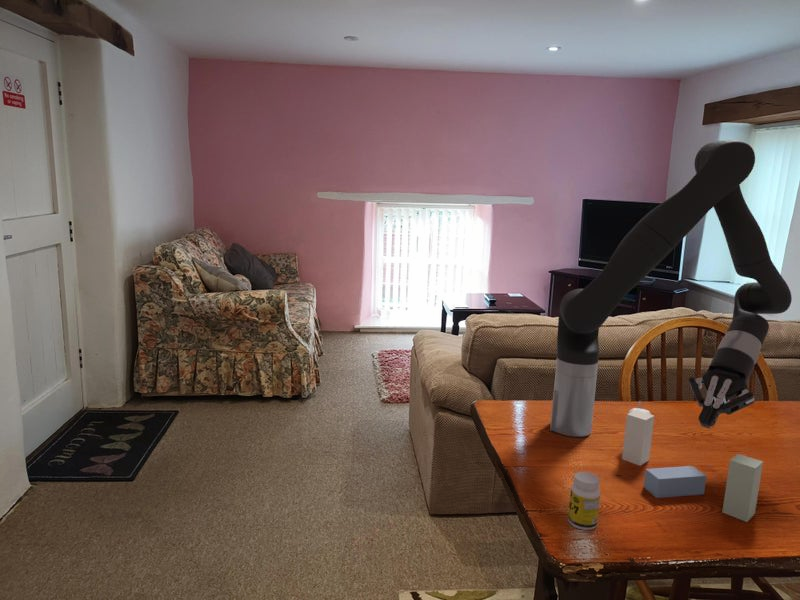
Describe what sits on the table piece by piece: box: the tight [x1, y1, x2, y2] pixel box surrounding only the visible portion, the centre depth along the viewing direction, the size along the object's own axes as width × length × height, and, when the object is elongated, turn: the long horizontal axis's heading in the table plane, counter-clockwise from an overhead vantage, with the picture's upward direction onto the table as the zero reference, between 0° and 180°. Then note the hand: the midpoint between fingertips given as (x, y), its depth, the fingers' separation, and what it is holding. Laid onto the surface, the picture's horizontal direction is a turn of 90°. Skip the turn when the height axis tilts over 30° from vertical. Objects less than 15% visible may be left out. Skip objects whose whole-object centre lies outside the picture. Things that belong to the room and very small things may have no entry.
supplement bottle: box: [567, 471, 601, 531], centre depth 99 cm, size 5×5×8 cm
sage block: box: [721, 453, 764, 523], centre depth 104 cm, size 4×4×10 cm
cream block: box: [621, 410, 655, 467], centre depth 124 cm, size 4×4×10 cm
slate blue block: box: [643, 465, 707, 499], centre depth 112 cm, size 4×4×10 cm
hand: (704, 425), depth 119 cm, fingers closed
